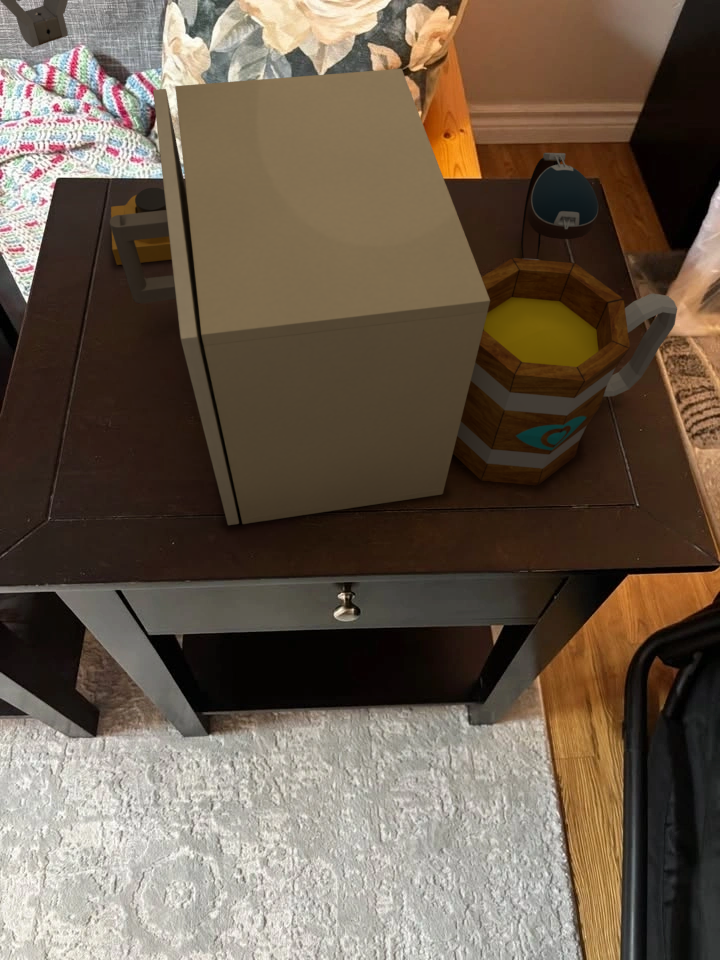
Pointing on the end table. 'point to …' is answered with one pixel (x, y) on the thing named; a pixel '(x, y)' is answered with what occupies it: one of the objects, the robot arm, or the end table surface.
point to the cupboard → (328, 289)
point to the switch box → (145, 247)
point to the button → (150, 200)
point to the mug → (549, 366)
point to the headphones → (556, 204)
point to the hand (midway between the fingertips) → (46, 38)
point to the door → (177, 289)
